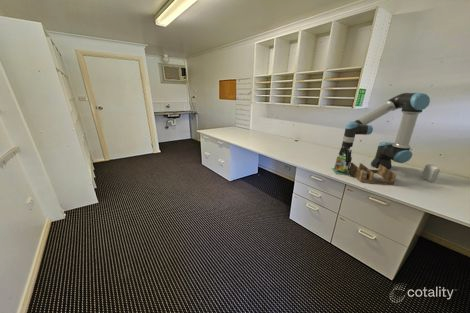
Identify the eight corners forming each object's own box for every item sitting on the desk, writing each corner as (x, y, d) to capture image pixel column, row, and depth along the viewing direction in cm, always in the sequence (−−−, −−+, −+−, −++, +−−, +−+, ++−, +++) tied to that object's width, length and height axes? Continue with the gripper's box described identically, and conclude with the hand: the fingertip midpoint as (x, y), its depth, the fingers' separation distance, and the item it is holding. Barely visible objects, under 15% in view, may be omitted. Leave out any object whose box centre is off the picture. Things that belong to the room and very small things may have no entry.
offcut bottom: (357, 176, 150) (358, 172, 149) (361, 176, 149) (362, 172, 148) (361, 180, 143) (362, 176, 142) (365, 180, 143) (366, 176, 142)
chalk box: (333, 169, 157) (337, 153, 152) (337, 166, 163) (341, 150, 158) (345, 172, 151) (349, 156, 146) (349, 169, 157) (353, 153, 152)
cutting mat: (331, 168, 164) (331, 168, 164) (345, 169, 162) (345, 169, 162) (336, 174, 153) (336, 173, 153) (351, 175, 151) (351, 174, 151)
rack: (348, 170, 160) (350, 162, 157) (377, 172, 157) (380, 164, 154) (360, 182, 140) (362, 172, 137) (393, 184, 136) (397, 175, 134)
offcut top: (358, 172, 148) (359, 169, 147) (363, 173, 148) (364, 169, 147) (361, 175, 143) (362, 172, 142) (366, 176, 142) (367, 172, 141)
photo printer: (419, 176, 150) (425, 162, 146) (426, 177, 149) (431, 163, 145) (429, 182, 141) (435, 167, 137) (436, 183, 140) (442, 168, 136)
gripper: (337, 137, 160) (333, 160, 168) (349, 145, 138) (343, 171, 145) (347, 138, 159) (341, 161, 167) (360, 145, 137) (353, 172, 144)
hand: (342, 165), depth 156 cm, fingers closed on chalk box, 12 cm apart
